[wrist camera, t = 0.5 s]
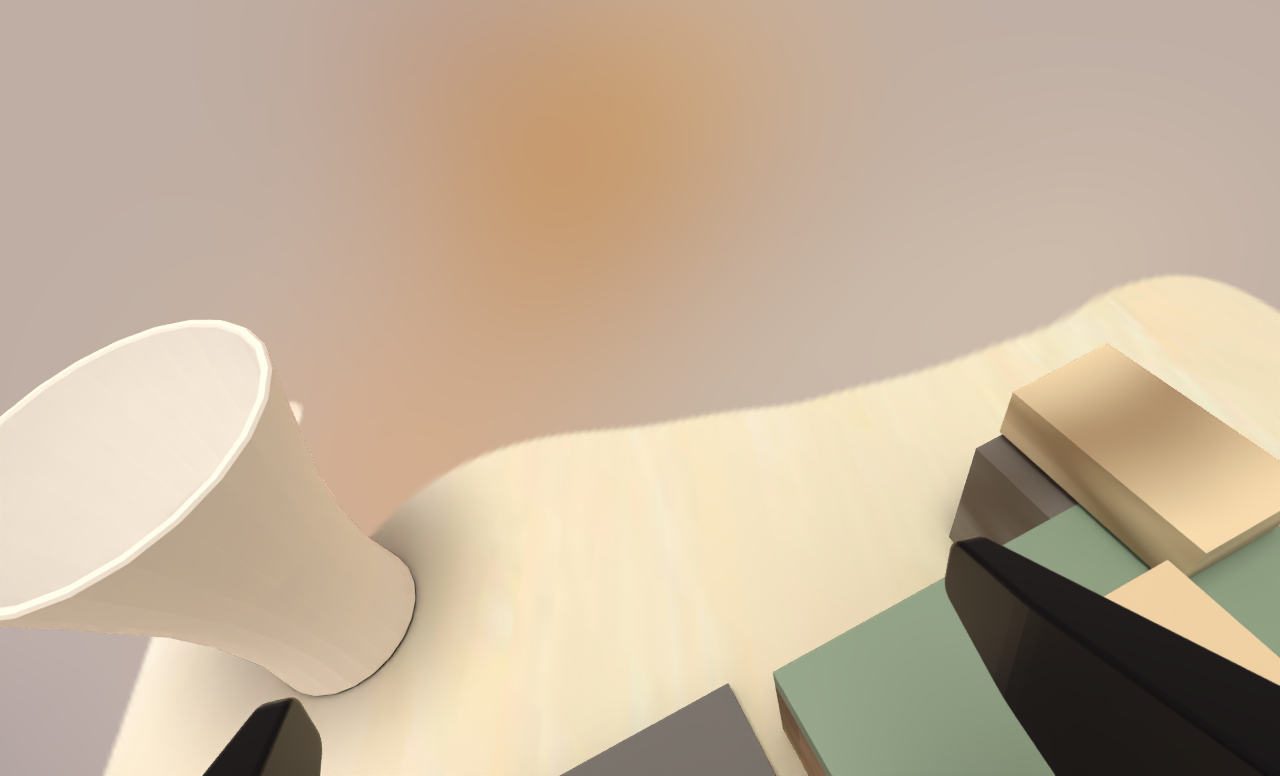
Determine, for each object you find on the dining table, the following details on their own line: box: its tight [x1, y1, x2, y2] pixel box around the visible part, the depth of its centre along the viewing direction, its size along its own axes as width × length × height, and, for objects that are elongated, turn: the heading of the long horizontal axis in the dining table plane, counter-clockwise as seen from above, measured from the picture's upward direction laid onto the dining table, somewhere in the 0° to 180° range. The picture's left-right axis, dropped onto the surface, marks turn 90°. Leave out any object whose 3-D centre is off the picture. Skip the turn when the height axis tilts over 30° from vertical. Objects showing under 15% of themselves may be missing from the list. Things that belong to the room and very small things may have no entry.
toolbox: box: [775, 435, 1079, 776], centre depth 18 cm, size 15×15×6 cm
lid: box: [773, 503, 1280, 776], centre depth 14 cm, size 12×14×5 cm
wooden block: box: [1000, 343, 1280, 578], centre depth 19 cm, size 6×4×2 cm, turn 24°
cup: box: [0, 320, 415, 696], centre depth 24 cm, size 10×10×14 cm
